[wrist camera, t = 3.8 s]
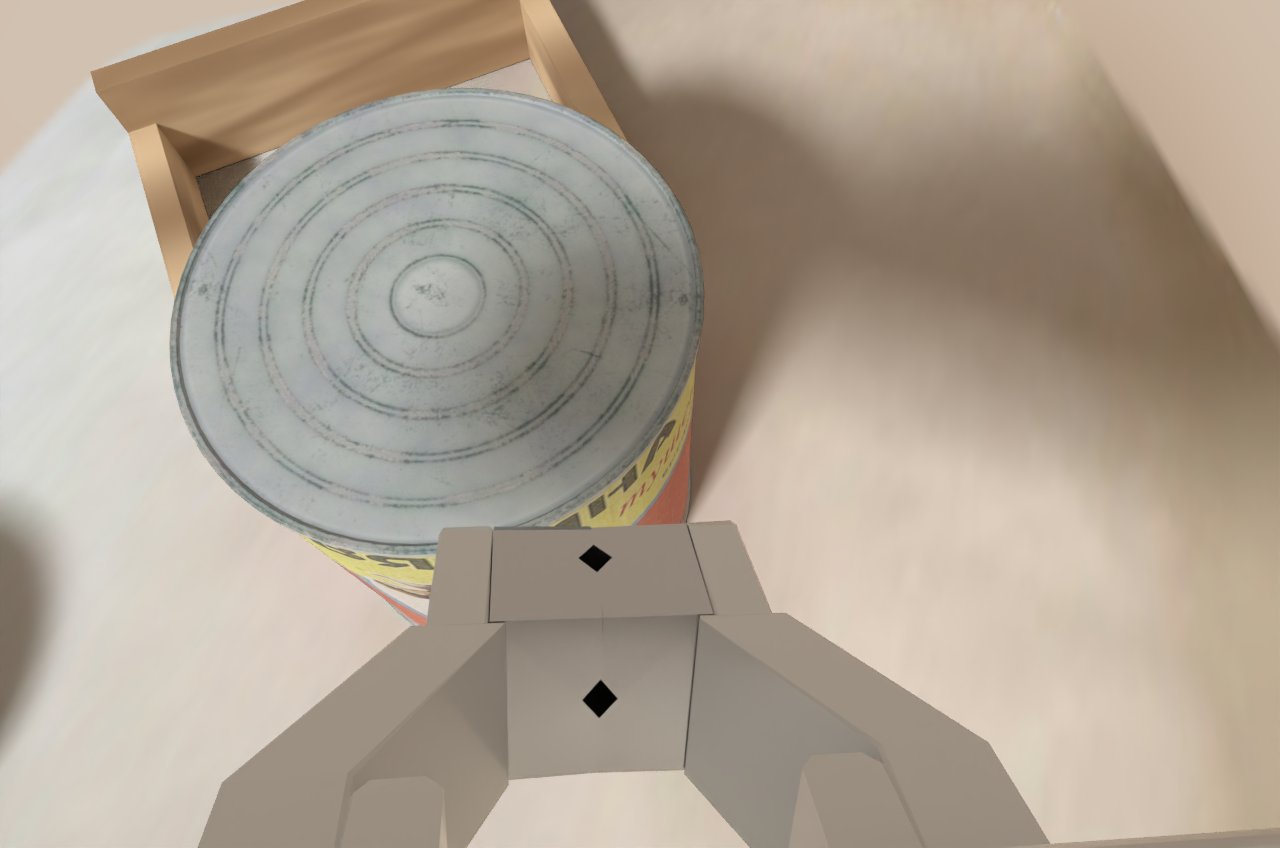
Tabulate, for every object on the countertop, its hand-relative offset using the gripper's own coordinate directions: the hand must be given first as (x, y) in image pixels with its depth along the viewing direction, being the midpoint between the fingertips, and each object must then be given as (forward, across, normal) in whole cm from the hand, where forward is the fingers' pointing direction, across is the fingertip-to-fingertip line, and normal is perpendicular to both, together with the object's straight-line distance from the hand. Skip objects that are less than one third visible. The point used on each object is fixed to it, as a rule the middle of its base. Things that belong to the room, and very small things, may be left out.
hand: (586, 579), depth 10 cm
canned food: (+19, +1, +10) cm, 21 cm away
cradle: (+28, +5, +2) cm, 29 cm away
